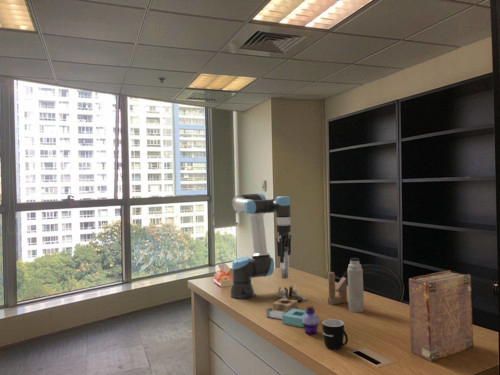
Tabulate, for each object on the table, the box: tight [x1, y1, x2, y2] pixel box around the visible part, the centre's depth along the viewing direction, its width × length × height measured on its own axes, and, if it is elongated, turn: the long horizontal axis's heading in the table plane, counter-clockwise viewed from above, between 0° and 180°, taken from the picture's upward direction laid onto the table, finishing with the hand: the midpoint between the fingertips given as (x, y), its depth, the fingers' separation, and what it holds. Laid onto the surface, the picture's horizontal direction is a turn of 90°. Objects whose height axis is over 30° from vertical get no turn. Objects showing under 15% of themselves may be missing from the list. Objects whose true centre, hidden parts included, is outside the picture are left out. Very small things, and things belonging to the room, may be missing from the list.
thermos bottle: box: [347, 257, 365, 313], centre depth 203 cm, size 8×8×28 cm
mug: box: [321, 318, 349, 350], centre depth 158 cm, size 12×9×10 cm
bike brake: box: [277, 284, 307, 303], centre depth 224 cm, size 14×7×20 cm
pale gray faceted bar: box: [265, 307, 286, 320], centre depth 195 cm, size 14×4×4 cm, turn 57°
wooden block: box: [327, 271, 348, 306], centre depth 216 cm, size 4×11×18 cm, turn 111°
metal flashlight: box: [280, 246, 289, 280], centre depth 205 cm, size 4×4×17 cm
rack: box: [272, 297, 299, 313], centre depth 205 cm, size 10×10×5 cm
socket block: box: [281, 308, 315, 328], centre depth 189 cm, size 12×12×4 cm
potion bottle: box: [302, 305, 320, 336], centre depth 175 cm, size 9×9×12 cm
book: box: [408, 269, 474, 362], centre depth 152 cm, size 25×9×30 cm, turn 116°
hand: (284, 267), depth 205 cm, fingers closed on metal flashlight, 3 cm apart
